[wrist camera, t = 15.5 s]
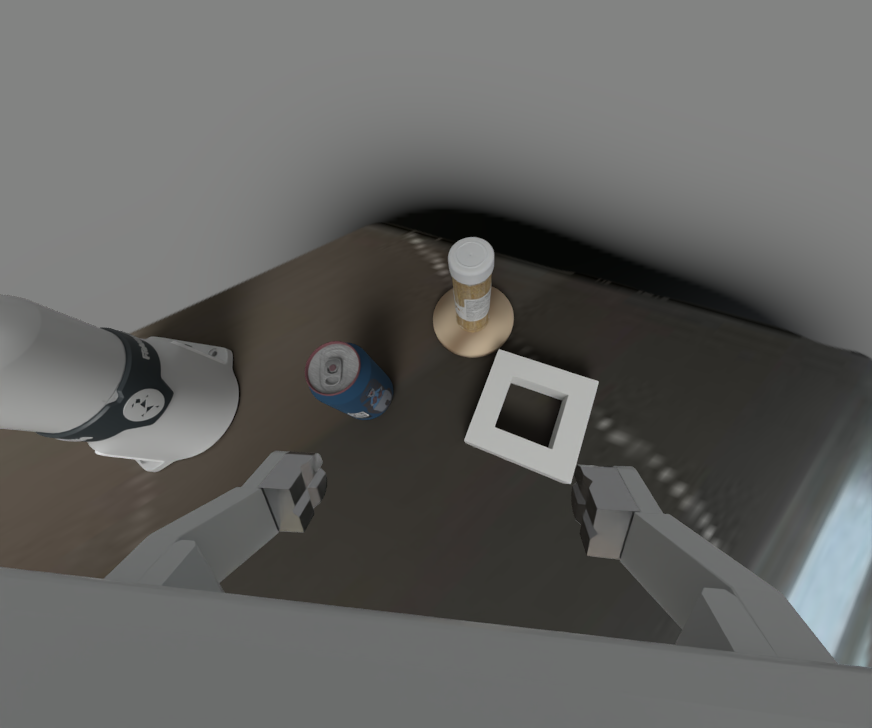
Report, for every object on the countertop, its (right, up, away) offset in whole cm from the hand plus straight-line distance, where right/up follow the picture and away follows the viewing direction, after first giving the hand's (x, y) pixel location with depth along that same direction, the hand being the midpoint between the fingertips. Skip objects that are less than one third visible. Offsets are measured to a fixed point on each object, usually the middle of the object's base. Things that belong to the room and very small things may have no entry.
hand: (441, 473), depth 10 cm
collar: (+11, -3, +29) cm, 31 cm away
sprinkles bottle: (+5, +10, +33) cm, 35 cm away
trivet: (+5, +10, +34) cm, 36 cm away
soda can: (-9, -1, +33) cm, 34 cm away
